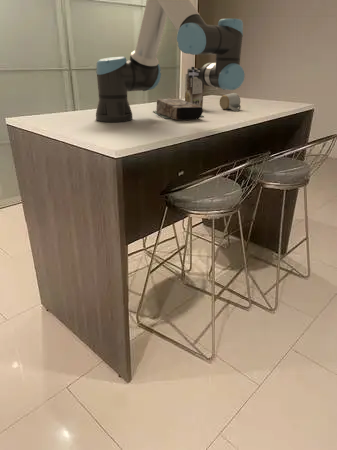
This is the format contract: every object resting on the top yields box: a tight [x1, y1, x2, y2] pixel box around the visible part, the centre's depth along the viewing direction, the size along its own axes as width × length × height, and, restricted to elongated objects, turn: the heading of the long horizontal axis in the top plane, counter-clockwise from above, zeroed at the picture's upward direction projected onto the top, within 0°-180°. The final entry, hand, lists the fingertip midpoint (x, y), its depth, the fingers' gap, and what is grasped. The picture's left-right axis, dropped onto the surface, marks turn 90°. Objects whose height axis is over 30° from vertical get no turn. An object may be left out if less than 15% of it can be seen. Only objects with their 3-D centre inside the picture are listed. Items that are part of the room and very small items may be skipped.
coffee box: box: [184, 73, 205, 109], centre depth 172 cm, size 9×6×16 cm
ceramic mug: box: [219, 92, 241, 112], centre depth 170 cm, size 11×8×8 cm
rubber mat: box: [152, 110, 205, 120], centre depth 156 cm, size 18×20×1 cm
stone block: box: [155, 98, 204, 121], centre depth 148 cm, size 13×7×20 cm
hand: (189, 71), depth 136 cm, fingers closed
